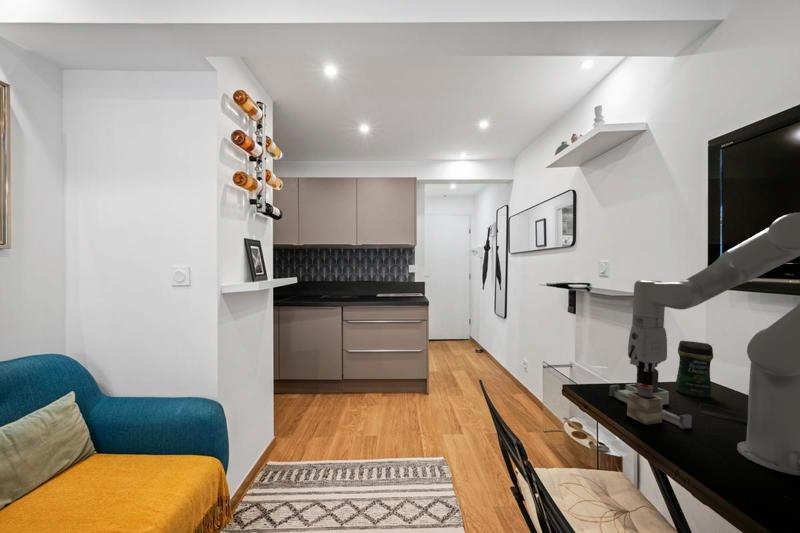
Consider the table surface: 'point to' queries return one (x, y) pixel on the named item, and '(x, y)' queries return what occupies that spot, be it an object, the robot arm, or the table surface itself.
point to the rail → (681, 421)
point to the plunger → (645, 391)
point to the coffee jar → (694, 369)
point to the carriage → (632, 388)
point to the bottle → (654, 380)
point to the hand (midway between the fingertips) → (644, 383)
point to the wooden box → (644, 408)
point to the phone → (723, 413)
